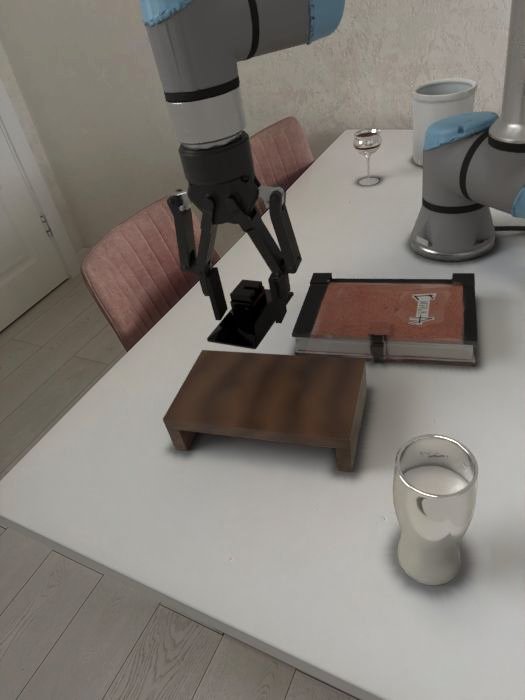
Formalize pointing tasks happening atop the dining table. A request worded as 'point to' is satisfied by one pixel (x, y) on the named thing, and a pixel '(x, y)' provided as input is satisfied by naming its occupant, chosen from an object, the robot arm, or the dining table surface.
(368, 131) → the wineglass
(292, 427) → the shelf
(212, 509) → the dining table surface
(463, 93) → the utensil holder
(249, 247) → the dining table surface
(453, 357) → the book
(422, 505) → the beer glass
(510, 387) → the dining table surface
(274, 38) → the robot arm
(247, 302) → the build plate
